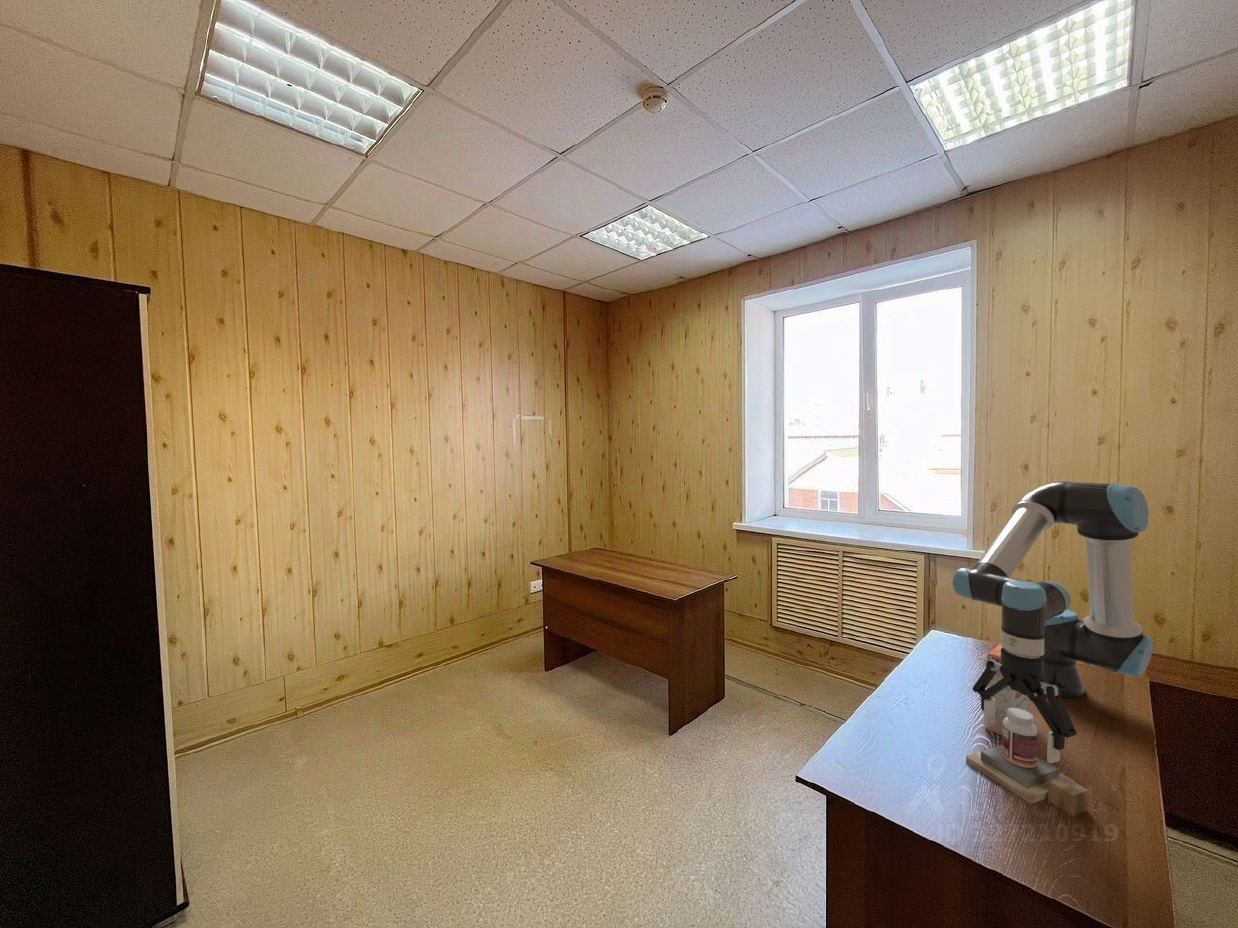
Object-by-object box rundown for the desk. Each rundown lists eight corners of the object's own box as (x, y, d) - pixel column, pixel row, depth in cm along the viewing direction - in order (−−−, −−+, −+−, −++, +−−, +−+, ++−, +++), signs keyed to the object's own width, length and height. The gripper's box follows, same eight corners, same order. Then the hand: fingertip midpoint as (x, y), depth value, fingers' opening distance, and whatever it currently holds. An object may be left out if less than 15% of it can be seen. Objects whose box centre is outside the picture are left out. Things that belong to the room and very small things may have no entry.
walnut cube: (1062, 775, 105) (1088, 790, 100) (1062, 795, 105) (1087, 810, 101) (1048, 780, 103) (1073, 795, 99) (1047, 800, 104) (1072, 816, 99)
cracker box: (1012, 740, 123) (1014, 660, 122) (983, 729, 128) (985, 652, 127) (1029, 720, 132) (1031, 645, 130) (1002, 710, 136) (1004, 637, 135)
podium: (1007, 749, 120) (1008, 735, 120) (1075, 788, 107) (1076, 772, 107) (965, 761, 116) (966, 747, 116) (1030, 804, 103) (1031, 788, 103)
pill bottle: (1042, 764, 110) (1044, 716, 109) (1027, 772, 107) (1028, 724, 106) (1011, 748, 115) (1012, 703, 115) (995, 755, 113) (997, 709, 112)
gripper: (956, 632, 120) (954, 715, 122) (1076, 680, 97) (1072, 782, 98) (978, 628, 123) (977, 709, 124) (1101, 674, 99) (1097, 774, 100)
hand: (1019, 742), depth 111 cm, fingers open, 13 cm apart
